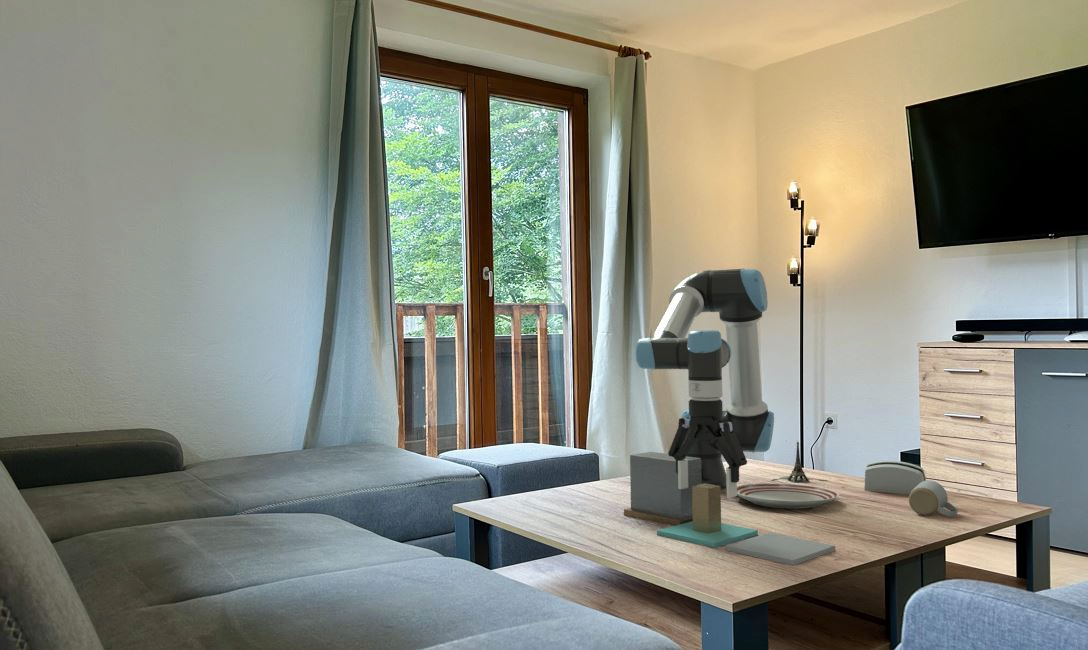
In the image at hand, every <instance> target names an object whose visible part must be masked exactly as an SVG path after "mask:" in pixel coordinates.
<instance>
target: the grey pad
mask: <svg viewBox="0 0 1088 650" xmlns="http://www.w3.org/2000/svg"><path fill="white" fill-rule="evenodd" d="M834 550H835V551H836V545H835V544H830V543H825V542H818V541H815V540H814V541H813V540H808V539H804V538H799V537H793V536H788V535H783V534H778V533H774V532H767V533H763V534H761V535H756V536H752V537H749V538H745V539H742V540H739V541H735V542H732V543H728V544H725V551H728V552H732V553H737V554H740V555H741V554H742V555H745V556H751V557H755V558H759V559H764V560H768V561H773V562H777V563H781V564H785V565H790V566H794V565H795V566H796V565H797V564H801V563H804V562H806V561H810V560H812V559H815V558H817V557H820V556H823V555H826V554H829V553H832V552H834Z"/></svg>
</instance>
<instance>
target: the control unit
mask: <svg viewBox="0 0 1088 650" xmlns="http://www.w3.org/2000/svg"><path fill="white" fill-rule="evenodd" d="M629 458H630V459H629V464H630V465H629V466H630V467H629V468H630V469H629V472H630V477H629V478H630V480H629V481H630V507H629V508H628V507H627V508H624V509H623V516H627V517H630V518H635V519H640V520H645V521H650V522H655V523H659V524H664V525H669V526H676V525H680V524H684V523H688V522H692V521H693V507H692V486H695V485H700V484H702V478H701V458H695V457H688V456H686V457H685V459H686V460H688V488H684V489H678V474H677V473H676V460H675V458H673V457H672V456H669V455H668V453H665V452H656V451H647V452H641V453H635V454H630V455H629ZM685 459H684V460H685Z"/></svg>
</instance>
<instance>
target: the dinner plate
mask: <svg viewBox="0 0 1088 650" xmlns="http://www.w3.org/2000/svg"><path fill="white" fill-rule="evenodd" d="M737 496H738V497H739V498H741V499H744V500H746V501H748V502H751V503H752V504H754V505H758V506H762V507H767V508H773V509H775V508H778V509H810V508H816V507H819V506H821V505H823V504H826V503H830V502H832V501H833V500H836V499H837V498H839V497H840V493H839V492H837V491H836V490H833V489H829V488H826V487H820V486H814V485H807V484H799V483H779V482H778V483H776V482H775V483H770V482H769V483H764V482H763V483H748V484H743V485H737Z"/></svg>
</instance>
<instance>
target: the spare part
mask: <svg viewBox="0 0 1088 650" xmlns="http://www.w3.org/2000/svg"><path fill="white" fill-rule="evenodd" d="M721 489H722V488H721V486H718V485H711V484H705V483H704V484H700V485H695V486H692V507H693V530H694V531H699V532H703V533H708V534H709V533H713V532H717V531H720V530H721V523H722V496H721V495H722V493H721V491H722V490H721Z"/></svg>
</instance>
